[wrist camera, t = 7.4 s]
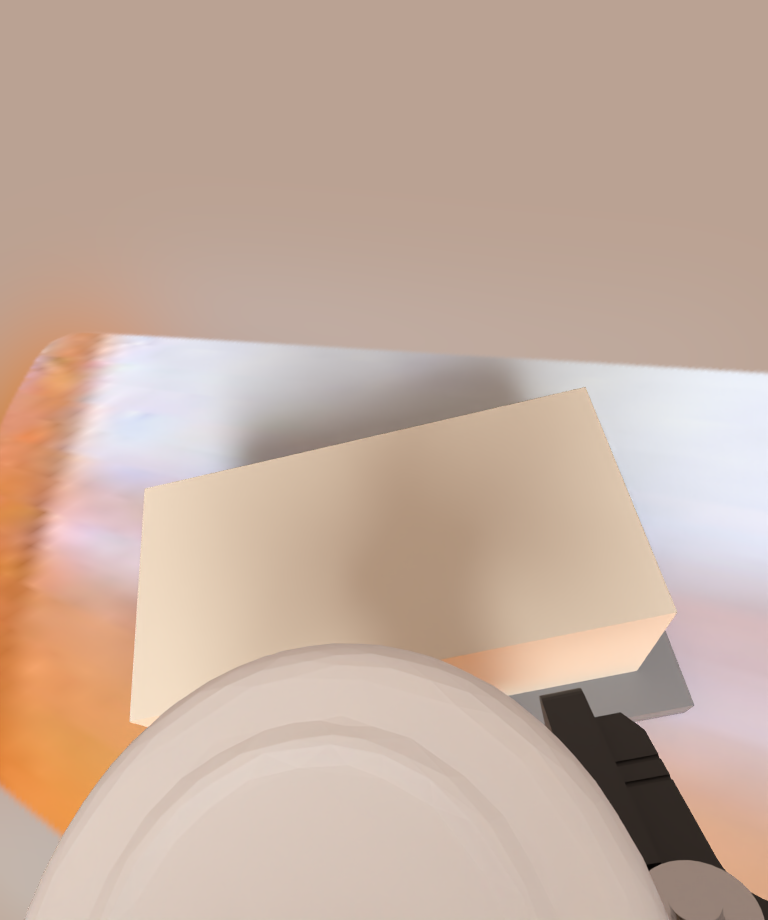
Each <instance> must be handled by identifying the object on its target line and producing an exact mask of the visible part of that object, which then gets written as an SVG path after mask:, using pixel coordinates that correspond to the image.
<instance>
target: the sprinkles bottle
mask: <svg viewBox="0 0 768 920" xmlns="http://www.w3.org/2000/svg"><path fill="white" fill-rule="evenodd" d="M24 920H669V918H668V915H667V913H666V911H665V908H664V906H663V904H662V901H661V899H660V896H659V894H658V892H657V889H656V887H655V885H654V882H653V880H652V878H651V875H650V873H649V871H648V868H647V866H646V864H645V861H644V859H643V857H642V855H641V854H640V852H639V850H638V849H637V847H636V845H635V843H634V842H633V840H632V838H631V837H630V835H629V833H628V832H627V830H626V828H625V826H624V825H623V823H622V821H621V820H620V818H619V816H618V814H617V813H616V811H615V810H614V808H613V807H612V805H611V804H610V802H609V801H608V799H607V798H606V796H605V795H604V793H603V792H602V790H601V789H600V787H599V786H598V784H597V783H596V781H595V780H594V779H593V778H592V776H591V775H590V774H589V773H588V772H587V770H586V769H585V768H584V767H583V766H582V764H581V763H580V762H579V761H578V760H577V758H576V757H575V756H574V755H573V754H572V753H571V752H570V751H569V749H568V748H567V747H566V746H565V745H564V744H563V743H562V742H561V741H560V740H559V739H558V738H557V737H556V736H555V735H554V734H553V733H552V732H551V731H550V730H549V729H548V728H547V727H546V726H545V725H544V724H543V723H541V722H540V721H539V720H538V719H536V718H535V717H534V716H533V715H532V714H530V713H529V712H528V711H527V710H526V709H524V708H523V707H522V706H521V705H520V704H518V703H517V702H516V701H515V700H514V699H512V698H511V697H509V696H508V695H506V694H505V693H503V692H502V691H500V690H499V689H498V688H496V687H495V686H493V685H491V684H489V683H487V682H485V681H483V680H481V679H479V678H477V677H475V676H473V675H472V674H470V673H468V672H466V671H463V670H461V669H459V668H457V667H455V666H453V665H451V664H448V663H446V662H444V661H441V660H439V659H436V658H433V657H430V656H427V655H423V654H420V653H416V652H412V651H408V650H403V649H398V648H393V647H388V646H382V645H373V644H343V643H332V644H323V645H314V646H306V647H301V648H296V649H290V650H285V651H280V652H278V653H275V654H272V655H267V656H264V657H261V658H259V659H256V660H253V661H251V662H248V663H246V664H243V665H241V666H238V667H236V668H234V669H232V670H230V671H228V672H226V673H224V674H222V675H220V676H218V677H216V678H214V679H212V680H210V681H208V682H207V683H205V684H204V685H202V686H201V687H199V688H198V689H196V690H195V691H193V692H192V693H190V694H189V695H187V696H186V697H184V698H183V699H181V700H180V701H178V702H177V703H175V704H174V705H173V706H171V707H170V708H169V709H168V710H166V711H165V712H164V713H163V714H162V715H161V716H160V717H158V718H157V719H156V720H155V721H154V722H153V723H152V724H151V725H150V726H149V727H148V728H146V729H145V730H144V731H143V732H142V733H141V734H140V735H139V736H138V737H137V738H136V739H135V740H133V741H132V743H131V744H130V745H129V746H128V747H127V748H126V749H125V750H124V751H123V752H122V753H121V755H120V756H119V757H118V758H117V759H116V760H115V761H114V762H113V763H112V765H111V766H110V767H109V768H108V770H107V771H106V772H105V774H104V775H103V776H102V778H101V779H100V780H99V781H98V783H97V784H96V785H95V787H94V788H93V789H92V791H91V792H90V794H89V795H88V797H87V798H86V799H85V801H84V802H83V804H82V805H81V807H80V809H79V810H78V812H77V813H76V815H75V817H74V818H73V820H72V821H71V823H70V825H69V826H68V828H67V830H66V831H65V833H64V834H63V836H62V838H61V840H60V842H59V844H58V846H57V848H56V850H55V852H54V854H53V855H52V857H51V859H50V862H49V863H48V865H47V867H46V869H45V871H44V873H43V875H42V878H41V880H40V882H39V885H38V887H37V890H36V892H35V894H34V896H33V899H32V901H31V903H30V906H29V908H28V911H27V914H26V917H25V919H24Z"/></svg>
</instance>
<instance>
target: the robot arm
mask: <svg viewBox="0 0 768 920" xmlns="http://www.w3.org/2000/svg"><path fill="white" fill-rule="evenodd" d="M539 698H540V704H541V709H542V713H543V718H544V722H545V726H546V727H547V728H548V729H549V730H550V731H551V732H552V733H553V734H554V735H555V736H556V737H557V738H558V739H559V740H560V741H561V742H562V743H563V744H564V745H565V746H566V747H567V748H568V749H569V751H570V752H571V753H572V754H573V755H574V756H575V757H576V758H577V760H578V761H579V762H580V763H581V764H582V766H583V767H584V768H585V769H586V770H587V772H588V773H589V774H590V775H591V776H592V778H593V779H594V780H595V781H596V783H597V784H598V786H599V787H600V789H601V790H602V792H603V793H604V795H605V796H606V798H607V799H608V801H609V802H610V804H611V805H612V807H613V808H614V810H615V811H616V813H617V814H618V816H619V818H620V820H621V821H622V823H623V825H624V826H625V828H626V830H627V832H628V833H629V835H630V837H631V838H632V840H633V842H634V843H635V845H636V847H637V849H638V850H639V852H640V854H641V855H642V857H643V859H644V861H645V864H646V866H647V868H648V871H649V873H650V875H651V878H652V880H653V882H654V885H655V887H656V889H657V892H658V894H659V896H660V899H661V901H662V904H663V906H664V908H665V911H666V913H667V915H668V918H669V920H768V901H767V900H764V899H762V898H760V897H758V896H757V895H755V894H753V893H751V892H750V891H749V890H748V889H747V888H746V887H745V886H744V885H743V884H742V883H741V882H740V881H739V880H737V879H736V878H735V877H733V876H732V875H731V874H729V873H727V872H726V871H725V869H724V868H723V867H722V865H721V864H720V862H719V861H718V859H717V858H716V856H715V854H714V852H713V851H712V849H711V847H710V845H709V844H708V842H707V840H706V838H705V836H704V835H703V833H702V831H701V829H700V828H699V826H698V824H697V822H696V820H695V819H694V817H693V815H692V813H691V812H690V810H689V808H688V806H687V804H686V803H685V801H684V799H683V797H682V796H681V794H680V792H679V790H678V788H677V787H676V785H675V783H674V781H673V780H671V778H670V774H669V772H668V771H667V769H666V767H665V765H664V764H663V762H662V760H661V759H660V758H659V756H658V753H657V751H656V749H655V748H654V746H653V744H652V742H651V740H650V739H649V737H648V735H647V733H646V731H645V730H644V729H643V728H641V727H640V726H639V725H637V724H636V723H635V722H633V721H632V720H631V719H629V718H628V717H627V716H625V715H624V714H623V713H621V712H619V713H614V714H609V715H604V716H598V717H594V715H593V712H592V710H591V708H590V706H589V704H588V701H587V699H586V697H585V695H584V693H583V691H582V689H581V688H576V689H571V690H566V691H561V692H556V693H551V694H546V695H541V696H539Z"/></svg>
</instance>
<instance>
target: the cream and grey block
mask: <svg viewBox="0 0 768 920" xmlns="http://www.w3.org/2000/svg"><path fill="white" fill-rule="evenodd" d="M676 613H677V611H676V608H675V606H674V603H673V601H672V598H671V596H670V593H669V591H668V589H667V586H666V584H665V581H664V579H663V576H662V574H661V571H660V569H659V567H658V564H657V562H656V559H655V557H654V554H653V552H652V549H651V547H650V544H649V542H648V540H647V537H646V535H645V532H644V530H643V527H642V525H641V522H640V520H639V517H638V515H637V513H636V510H635V508H634V505H633V503H632V500H631V498H630V495H629V493H628V491H627V488H626V486H625V483H624V481H623V478H622V476H621V473H620V471H619V468H618V466H617V464H616V461H615V459H614V456H613V454H612V451H611V449H610V446H609V444H608V442H607V439H606V437H605V434H604V432H603V429H602V427H601V424H600V422H599V419H598V417H597V415H596V412H595V410H594V407H593V405H592V402H591V400H590V397H589V395H588V392H587V390H586V388H585V387H583V388H579V389H575V390H570V391H566V392H562V393H557V394H553V395H549V396H544V397H540V398H536V399H531V400H527V401H523V402H518V403H514V404H510V405H505V406H501V407H497V408H492V409H488V410H484V411H479V412H475V413H471V414H466V415H462V416H458V417H453V418H449V419H445V420H440V421H436V422H432V423H428V424H423V425H419V426H415V427H410V428H406V429H402V430H397V431H393V432H389V433H384V434H380V435H376V436H371V437H367V438H363V439H358V440H354V441H350V442H345V443H341V444H337V445H332V446H328V447H324V448H319V449H315V450H311V451H306V452H302V453H298V454H293V455H289V456H285V457H280V458H276V459H272V460H267V461H263V462H259V463H254V464H250V465H246V466H241V467H237V468H233V469H228V470H224V471H220V472H215V473H211V474H207V475H202V476H198V477H194V478H189V479H185V480H181V481H176V482H172V483H168V484H163V485H159V486H155V487H150V488H146V489H145V492H144V508H143V523H142V538H141V554H140V569H139V585H138V600H137V616H136V631H135V646H134V662H133V677H132V693H131V708H130V722H132V723H135V724H139V725H142V726H146V727H149V726H150V725H151V724H152V723H153V722H154V721H155V720H156V719H157V718H158V717H160V716H161V715H162V714H163V713H164V712H165V711H166V710H168V709H169V708H170V707H171V706H173V705H174V704H175V703H177V702H178V701H180V700H181V699H183V698H184V697H186V696H187V695H189V694H190V693H192V692H193V691H195V690H196V689H198V688H199V687H201V686H202V685H204V684H205V683H207V682H208V681H210V680H212V679H214V678H216V677H218V676H220V675H222V674H224V673H226V672H228V671H230V670H232V669H234V668H236V667H238V666H241V665H243V664H246V663H248V662H251V661H253V660H256V659H259V658H261V657H264V656H267V655H272V654H275V653H278V652H280V651H285V650H290V649H296V648H301V647H306V646H314V645H323V644H332V643H343V644H373V645H382V646H388V647H393V648H398V649H403V650H408V651H412V652H416V653H420V654H423V655H427V656H430V657H433V658H436V659H439V660H441V661H444V662H446V663H448V664H451V665H453V666H455V667H457V668H459V669H461V670H463V671H466V672H468V673H470V674H472V675H473V676H475V677H477V678H479V679H481V680H483V681H485V682H487V683H489V684H491V685H493V686H495V687H496V688H498V689H499V690H500V691H502V692H503V693H505V694H506V695H508V696H509V697H511V698H512V699H514V700H515V701H516V702H517V703H518V704H520V705H521V706H522V707H523V708H524V709H526V710H527V711H528V712H529V713H530V714H532V715H533V716H534V717H535V718H536V719H538V720H539V721H540V722H541V723H543V724H544V725H545V722H544V718H543V713H542V709H541V704H540V698H539V696H541V695H546V694H551V693H556V692H561V691H566V690H571V689H576V688H581V689H582V691H583V693H584V695H585V697H586V699H587V701H588V704H589V706H590V708H591V710H592V712H593V715H594V717H598V716H604V715H609V714H614V713H619V712H621V713H623V714H624V715H625V716H627V717H628V718H629V719H631V720H632V721H633V722H636V721H641V720H647V719H652V718H657V717H663V716H668V715H673V714H679V713H684V712H686V711H688V710H689V709H690V708H691V707H693V706H694V703H693V701H692V698H691V695H690V693H689V690H688V688H687V685H686V683H685V680H684V678H683V675H682V672H681V670H680V667H679V665H678V662H677V660H676V657H675V655H674V652H673V649H672V647H671V644H670V642H669V639H668V637H667V634H666V632H665V629H666V628H667V626H668V625H669V624H670V622H671V621H672V619H673V618H674V616H675V615H676Z"/></svg>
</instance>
